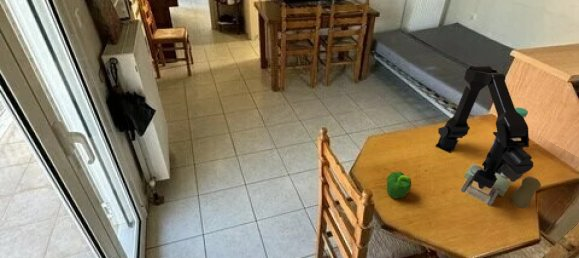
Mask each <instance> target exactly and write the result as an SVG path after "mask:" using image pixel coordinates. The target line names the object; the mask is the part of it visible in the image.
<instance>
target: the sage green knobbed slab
mask: <svg viewBox="0 0 579 258" xmlns="http://www.w3.org/2000/svg"><path fill="white" fill-rule="evenodd" d="M481 169H482V170H484V167H483V166H480V165H476V164H474V163H472V164H471V165H470V167H469V168H468V170H466V172H465V174H464V176H463V178H465V179H466V180H468V178H469V177H470V175H472V176H474V174H475V173H476V172H477V170H481ZM495 175H496V174H495ZM496 177H497V178H498V179H497V181H496V183H495V185H494V186H495V187H497V188H499V189H500V191H499V193H498V194H497V195H500V196H501V197H504V195H505V194H506V192H507V190H508V189H509V187H510V185H511V183H512V181H510V179H509V180H508V178H503V177H500V176H498V175H496Z"/></svg>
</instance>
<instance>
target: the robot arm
mask: <svg viewBox="0 0 579 258" xmlns="http://www.w3.org/2000/svg"><path fill="white" fill-rule="evenodd" d="M463 80H464V84H465V88H464V91H463V92H462V95H461V98H460V100H459V102H458V105H457V108H456V110H455V112H454V115H453V116H452V117H450V118H449V119H448V120H447V121H446V123H445V125H444V126H441V127H438V130H437V133H438V135H439V139H438V142H437V143H436V144H435V147H436V148H438V149H441V150H442V151H444V152H446V153H452V152H453V151H454V150H455V149H456V148H457V145H458V143H459V140H458V139H463V137H466V135H468V133H469V131H470V129H471V127H470V125H469V124H468V118H469V116H470V114H471V112H472V109H473V107H474V106H475V103H476V100H477V99H478V96H479V94H480V91H481V90H483V89H484V88H485V87H488V90H489V94H490V96H491V99H492V103H493V106H494V108H495V111H496V115H497V118H496V121H495V126H496V131H492V134H493V136H494V137H496V140H495V142H494V143H493V142H492V143H493V145H491V147H490V150H489V151H488V153H487V154H486V157H485V159H484V161H483V162H482V164H481V167H483V169H484V170H482V169H481V170H477V172H476V173H475V174H474V176H473V178H472V179H473V181H475V182H477V183H478V186H479V188H480V189H483V188H484V187H487V188H492V187H493V185H494V184H495V182H496V180H497V178H496V175H495V173H498V174H501V173H503V174H504V175H505V176H506V177H507V178H506V179H509V181H511V183H512V182H513V183H514V182H516V181H517V180H520V179H521V178H522V177H523V176H524V174H526V173H528V172H530V171H531V170H532V169H533V167H534V162H533V160H532V159H533V157H532V156H531V154H530V153H528V152H526V151H525V149H524V148H529V147H530V137H529V126H528V123H527V121H526V120H525V118H523V116H521V115H520V114H519V113H518V112H517V111H516V110H515V108H516V107H515V105H514V102H513V100H512V99H513V98H511V94H510V91H509V89H508V85H507V83H506V76H505V74H504V73H502V72H500V71H499V70H497V69H494V68H492V66H491V65H489V64H487V65H486V64H485V65H483V64H482V65H470V66H468V67H467V68H466V70H465V74H464V78H463ZM514 138H519V139H520V140H518V141H514V140H513V139H514Z"/></svg>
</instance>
